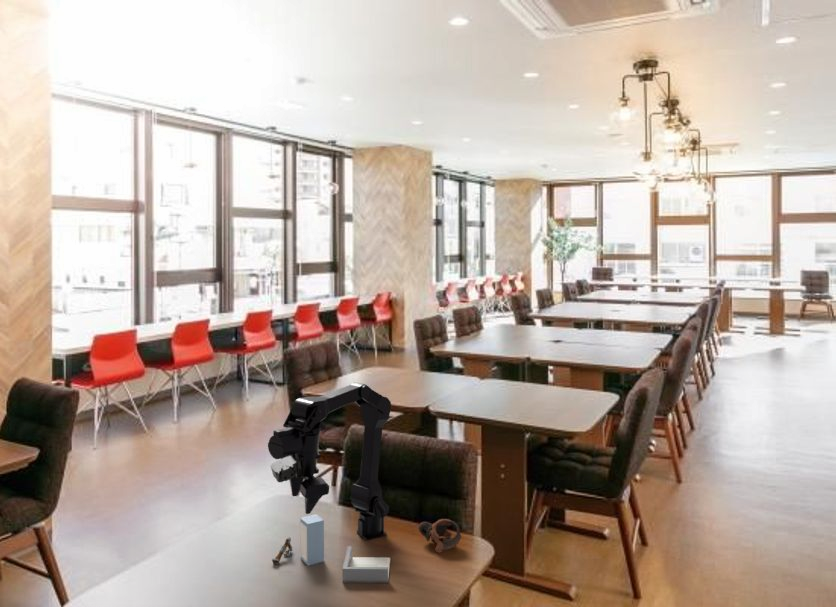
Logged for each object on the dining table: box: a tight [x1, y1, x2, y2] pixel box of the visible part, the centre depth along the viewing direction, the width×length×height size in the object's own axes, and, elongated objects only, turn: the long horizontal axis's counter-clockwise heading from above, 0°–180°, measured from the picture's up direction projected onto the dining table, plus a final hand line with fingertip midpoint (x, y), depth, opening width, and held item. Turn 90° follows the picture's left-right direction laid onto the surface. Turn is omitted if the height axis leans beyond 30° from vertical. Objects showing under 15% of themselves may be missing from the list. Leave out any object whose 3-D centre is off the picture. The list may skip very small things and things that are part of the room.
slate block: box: [299, 513, 325, 566], centre depth 172 cm, size 5×4×11 cm
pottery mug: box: [418, 518, 462, 554], centre depth 181 cm, size 12×10×8 cm
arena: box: [342, 545, 391, 584], centre depth 167 cm, size 12×11×4 cm
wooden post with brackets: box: [271, 536, 293, 566], centre depth 174 cm, size 2×8×4 cm, turn 160°
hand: (300, 504), depth 171 cm, fingers open, 9 cm apart
